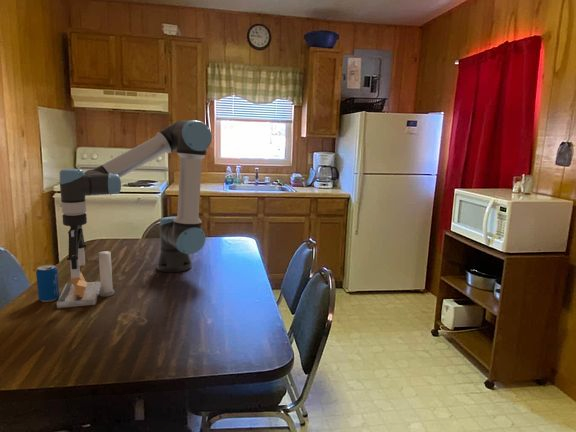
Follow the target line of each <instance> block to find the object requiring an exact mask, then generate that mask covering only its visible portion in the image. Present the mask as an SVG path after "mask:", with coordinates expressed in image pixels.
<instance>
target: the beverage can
mask: <svg viewBox="0 0 576 432" xmlns="http://www.w3.org/2000/svg"><path fill="white" fill-rule="evenodd" d="M35 273H36V281H37V282H36V283H37V284H36V285H37V293H38V295H37V296H38V300H39V301H41V302H42V303H51V302H54V301H57V300H58V299H59V297H60V284H59V274H58V268H57V266H56V265H54V264H45V265H40V266H38V267H37V269H36V271H35Z"/></svg>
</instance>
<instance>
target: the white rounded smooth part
mask: <svg viewBox="0 0 576 432" xmlns="http://www.w3.org/2000/svg"><path fill="white" fill-rule="evenodd" d="M111 255H112V254H111V251H109V250H105V251H100V252H98V265H99V267H98V268H99V280H100V285H101V287H100V290H99V294H98V296H100V297H101V298H106V297H112V296H114V295H115V291H116V290H114V289H113V287H114V286H113V273H112V272H113V270H112V256H111Z"/></svg>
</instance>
